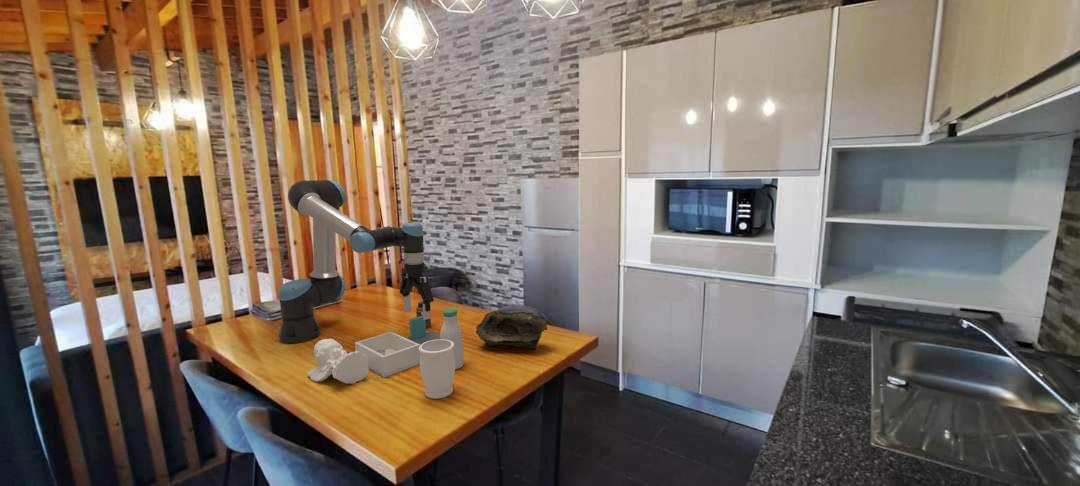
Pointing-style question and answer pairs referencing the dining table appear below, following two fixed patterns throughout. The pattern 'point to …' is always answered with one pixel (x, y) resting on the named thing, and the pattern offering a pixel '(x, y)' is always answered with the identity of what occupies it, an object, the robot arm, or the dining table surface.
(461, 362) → the milk bottle
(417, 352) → the tub
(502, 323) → the hollow geode rock
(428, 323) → the supplement bottle
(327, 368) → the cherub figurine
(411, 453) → the dining table surface
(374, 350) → the steel nut
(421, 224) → the robot arm
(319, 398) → the dining table surface
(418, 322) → the lid
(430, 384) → the jar
